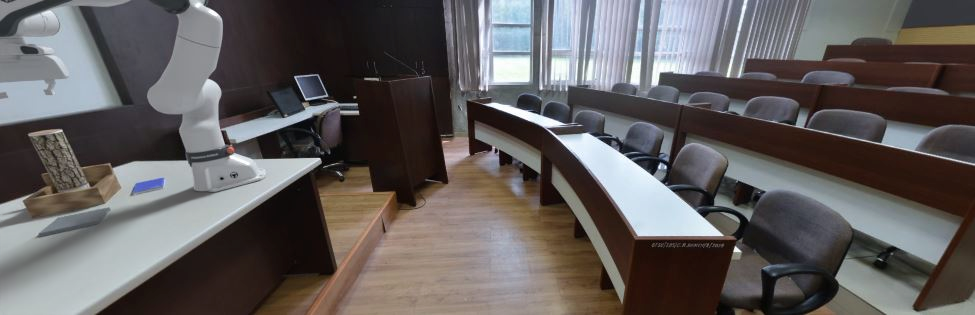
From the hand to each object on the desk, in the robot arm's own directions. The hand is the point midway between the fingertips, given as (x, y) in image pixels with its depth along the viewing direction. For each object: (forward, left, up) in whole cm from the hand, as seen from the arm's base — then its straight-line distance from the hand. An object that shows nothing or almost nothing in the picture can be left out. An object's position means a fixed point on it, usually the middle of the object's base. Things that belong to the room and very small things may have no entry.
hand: (27, 96), depth 100 cm
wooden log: (0, 0, -36) cm, 36 cm away
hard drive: (-17, -2, -37) cm, 41 cm away
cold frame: (0, 0, -36) cm, 36 cm away
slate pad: (-6, +22, -36) cm, 43 cm away
